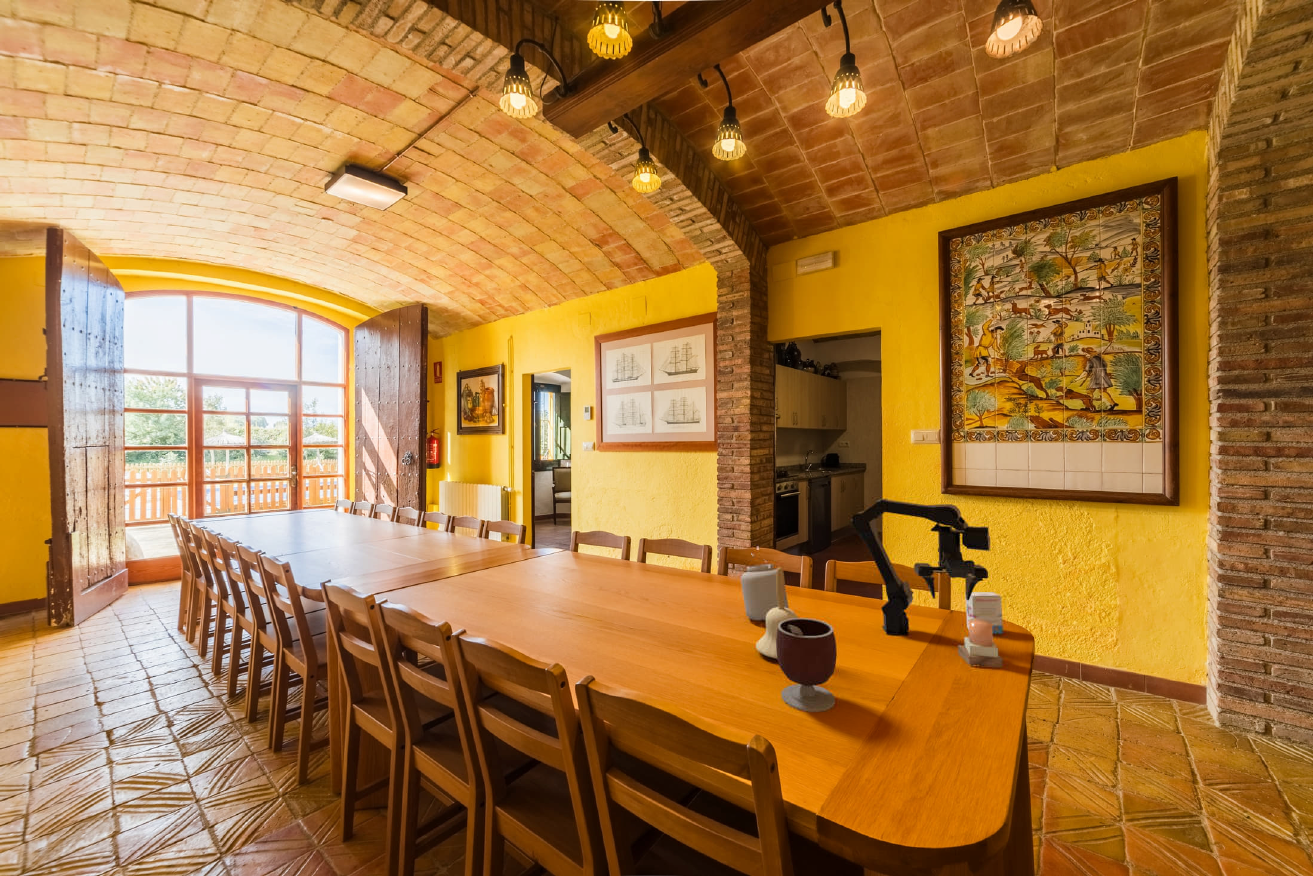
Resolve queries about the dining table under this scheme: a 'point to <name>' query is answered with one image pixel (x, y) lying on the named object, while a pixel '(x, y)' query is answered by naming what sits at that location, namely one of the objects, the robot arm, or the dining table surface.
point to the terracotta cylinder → (980, 632)
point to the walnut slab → (979, 658)
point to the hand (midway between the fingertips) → (950, 599)
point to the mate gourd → (806, 662)
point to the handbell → (775, 619)
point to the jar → (760, 591)
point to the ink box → (985, 609)
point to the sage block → (981, 649)
